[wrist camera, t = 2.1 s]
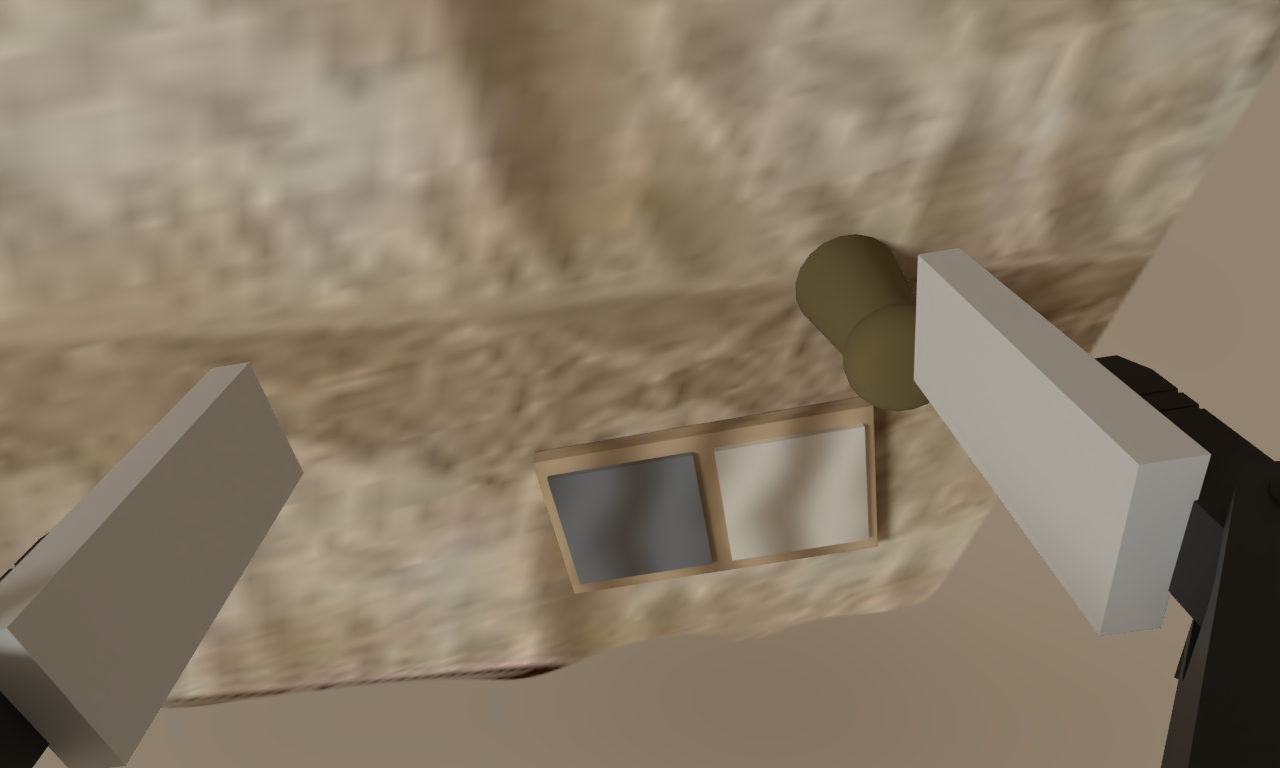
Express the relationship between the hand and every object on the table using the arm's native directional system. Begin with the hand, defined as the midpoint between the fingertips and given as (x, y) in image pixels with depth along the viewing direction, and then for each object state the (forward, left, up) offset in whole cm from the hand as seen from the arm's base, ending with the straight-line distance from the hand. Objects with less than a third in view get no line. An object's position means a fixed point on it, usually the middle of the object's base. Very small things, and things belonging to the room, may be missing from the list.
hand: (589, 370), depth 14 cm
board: (-2, +26, -27) cm, 37 cm away
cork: (-12, +12, -27) cm, 32 cm away
